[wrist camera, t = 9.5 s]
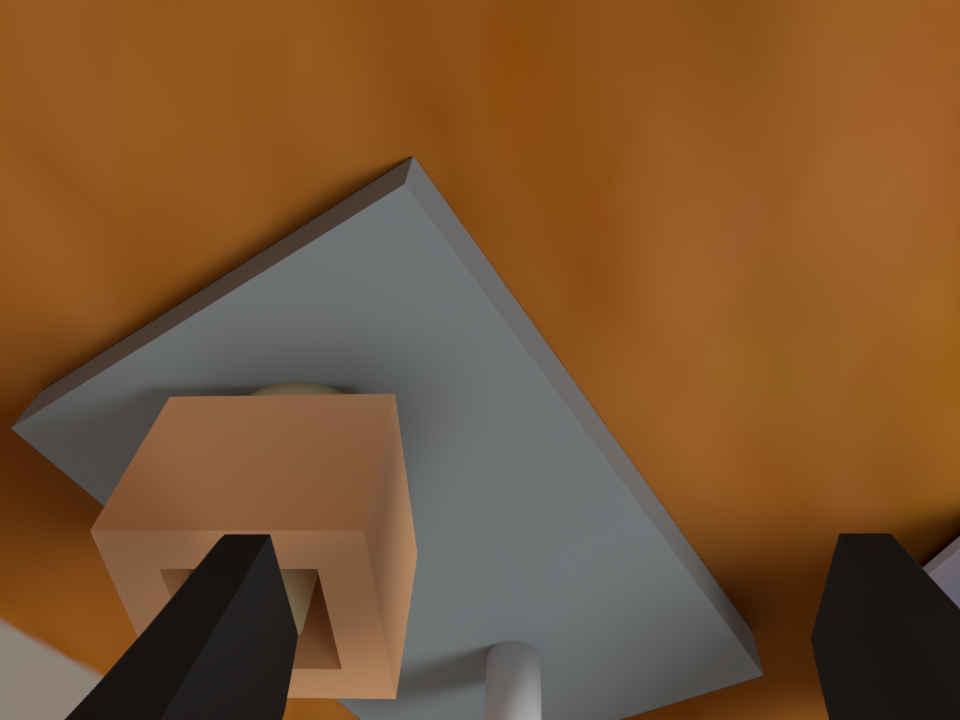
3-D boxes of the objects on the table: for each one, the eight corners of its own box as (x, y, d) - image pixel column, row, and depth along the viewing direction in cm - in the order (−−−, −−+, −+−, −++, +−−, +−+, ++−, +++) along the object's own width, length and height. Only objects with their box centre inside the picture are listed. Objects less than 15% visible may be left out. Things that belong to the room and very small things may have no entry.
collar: (395, 393, 18) (363, 530, 14) (417, 554, 21) (396, 698, 17) (169, 396, 18) (90, 531, 15) (222, 553, 21) (164, 695, 18)
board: (753, 632, 25) (812, 855, 20) (435, 737, 30) (414, 945, 24) (413, 156, 17) (360, 318, 12) (40, 391, 21) (-123, 590, 16)
